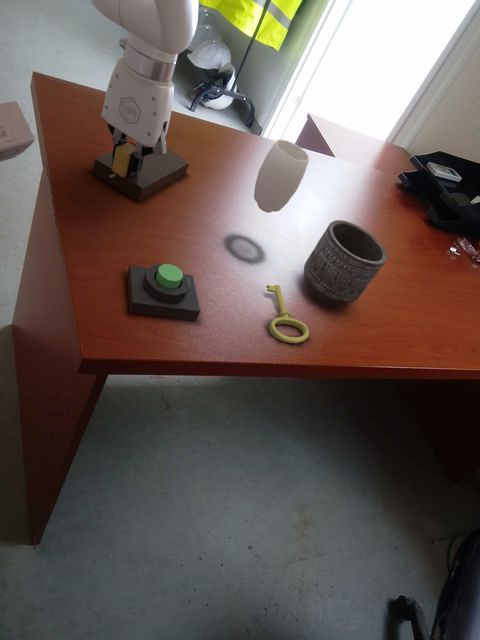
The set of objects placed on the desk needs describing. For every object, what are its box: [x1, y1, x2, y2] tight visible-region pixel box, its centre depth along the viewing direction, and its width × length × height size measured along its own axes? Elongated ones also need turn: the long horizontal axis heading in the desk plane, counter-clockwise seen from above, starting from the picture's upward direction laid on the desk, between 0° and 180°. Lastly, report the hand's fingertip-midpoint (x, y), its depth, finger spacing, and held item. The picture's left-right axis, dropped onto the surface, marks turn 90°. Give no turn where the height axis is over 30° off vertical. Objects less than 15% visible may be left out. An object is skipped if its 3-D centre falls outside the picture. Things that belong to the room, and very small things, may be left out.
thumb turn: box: [112, 139, 136, 177], centre depth 81 cm, size 5×2×5 cm, turn 159°
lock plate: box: [92, 144, 190, 203], centre depth 88 cm, size 21×10×3 cm, turn 160°
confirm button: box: [156, 263, 183, 289], centre depth 67 cm, size 4×4×2 cm
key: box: [265, 284, 310, 344], centre depth 78 cm, size 7×12×2 cm, turn 36°
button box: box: [126, 263, 201, 322], centre depth 68 cm, size 10×8×4 cm
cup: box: [253, 139, 310, 214], centre depth 81 cm, size 7×7×21 cm
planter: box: [303, 219, 388, 309], centre depth 85 cm, size 12×12×13 cm
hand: (125, 168), depth 83 cm, fingers closed on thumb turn, 2 cm apart
